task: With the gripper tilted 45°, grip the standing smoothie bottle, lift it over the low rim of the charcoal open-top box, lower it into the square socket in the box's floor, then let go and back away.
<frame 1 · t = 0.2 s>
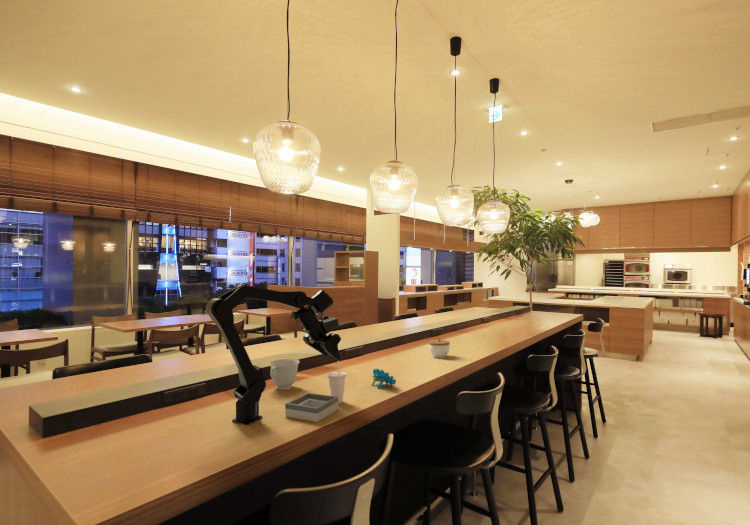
hand: (333, 357, 138), 15 cm above the counter, tool tilted 30°, fingers open, 9 cm apart
smoothie: (337, 402, 134), on the counter
lidded jar: (439, 356, 203), on the counter
teacup: (282, 389, 151), on the counter
socket box: (312, 412, 124), on the counter
blue bumpy figure: (383, 386, 152), on the counter
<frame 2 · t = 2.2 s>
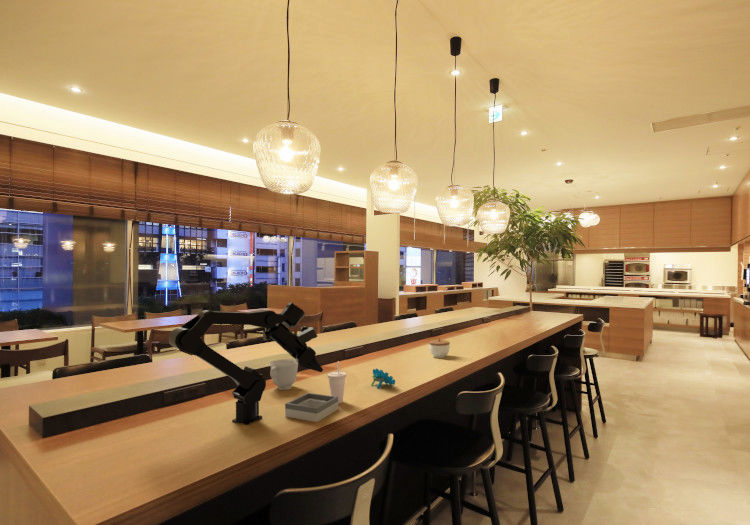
hand: (318, 368, 132), 12 cm above the counter, tool tilted 45°, fingers open, 9 cm apart
nothing on the counter moved.
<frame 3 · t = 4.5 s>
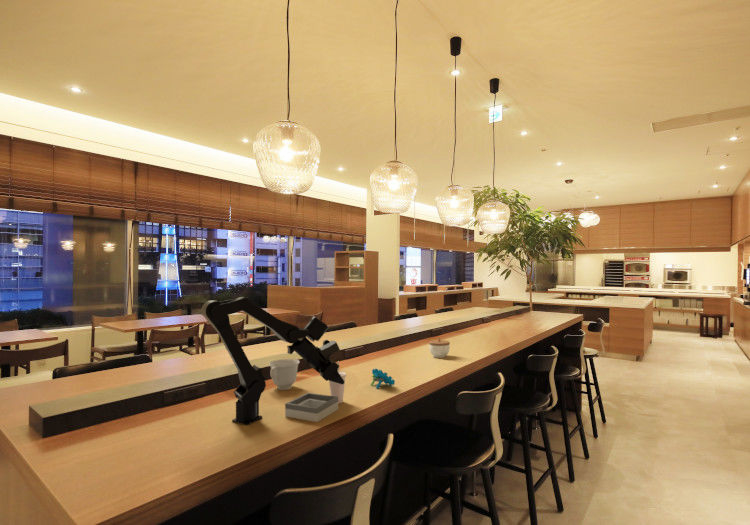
hand: (340, 380, 135), 7 cm above the counter, tool tilted 45°, fingers closed on smoothie, 6 cm apart
smoothie: (337, 402, 134), on the counter, touching gripper
everything else where it was.
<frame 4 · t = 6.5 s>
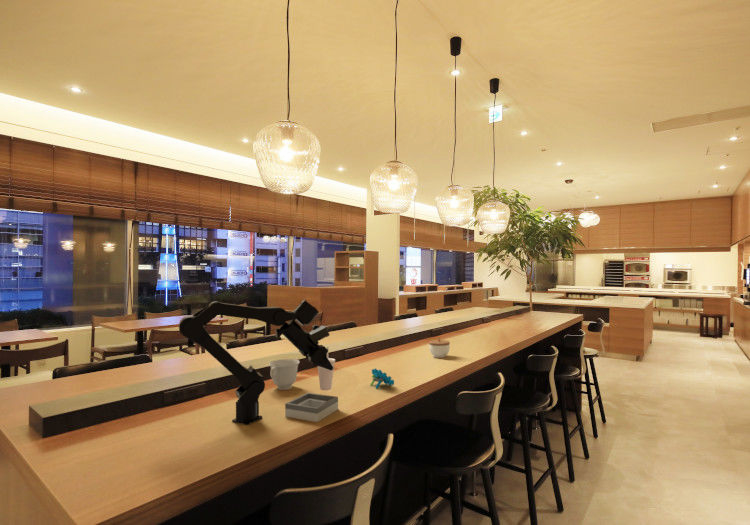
hand: (329, 367, 131), 13 cm above the counter, tool tilted 45°, fingers closed on smoothie, 6 cm apart
smoothie: (325, 389, 130), point 6 cm above the counter, touching gripper
everything else where it was.
when the fingers open (8 cm above the counter, at t = 8.8 s): smoothie drops 1 cm, resting in socket box.
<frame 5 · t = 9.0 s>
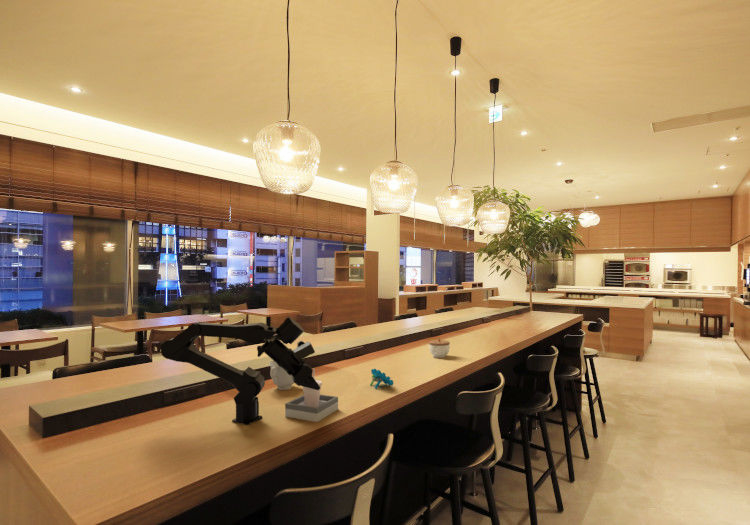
hand: (316, 385, 125), 9 cm above the counter, tool tilted 45°, fingers open, 8 cm apart
smoothie: (311, 413, 124), resting in socket box
everything else where it was.
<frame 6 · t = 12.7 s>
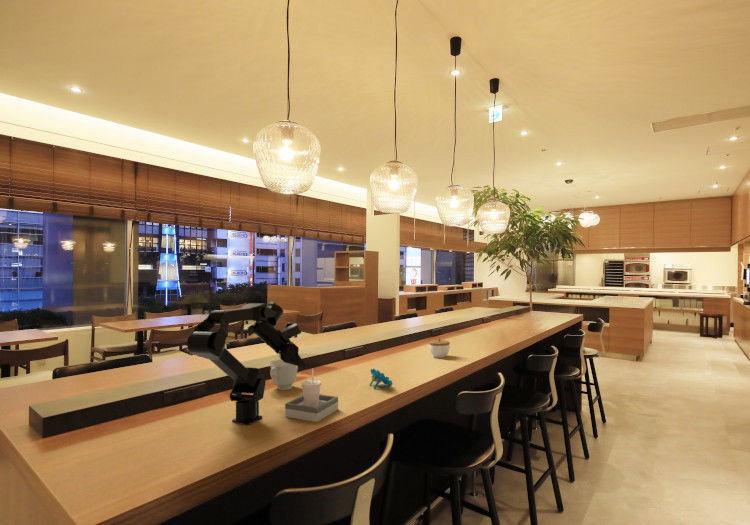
hand: (302, 363, 134), 14 cm above the counter, tool tilted 45°, fingers open, 9 cm apart
at the end: smoothie 0.2 cm off-centre on the socket box, point 0.0 cm above the socket box's base; smoothie tilted 0°; the gripper is holding nothing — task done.
